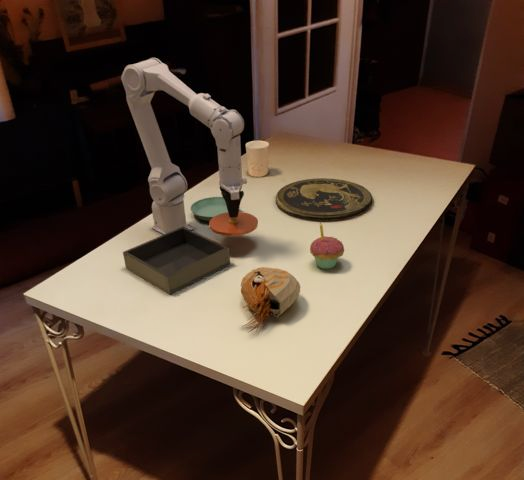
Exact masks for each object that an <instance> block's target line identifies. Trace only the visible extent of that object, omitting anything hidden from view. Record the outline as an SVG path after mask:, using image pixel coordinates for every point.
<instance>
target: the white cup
mask: <svg viewBox="0 0 524 480" xmlns="http://www.w3.org/2000/svg"><path fill="white" fill-rule="evenodd" d="M245 153H246V164H247V171H248V172H247V173H248V175H249V176H251V177H255V178H259V177H260V178H261V177H265V176H267V175H268V173H269V161H270V160H269V158H270V143H269V142H268V141H265V140H252V141H248V142H246V143H245Z"/></svg>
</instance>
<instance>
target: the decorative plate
mask: <svg viewBox="0 0 524 480" xmlns="http://www.w3.org/2000/svg"><path fill="white" fill-rule="evenodd" d="M373 199H374V198H373V195H372V193H371V192H370V191H369V190H368V188H366V187H364V186H362V185H360V184H358V183H356V182H352V181H350V180H345V179H338V178H325V177H324V178H317V177H316V178H307V179H301V180H297V181H294V182H291V183H288V184H286V185H284V186H283V187H281V188H280V189H279V190H278V191H277V193H276V196H275V204H276V206H277V207H278V208H279V209H280V210H281V211H282V212H284V213H285V214H289V215H290V216H293V217H296V218H300V219H303V220H311V221H325V222H326V221H339V220H345V219H352V218H354V217H357V216H360V215H362V214H363V213H366V212H367V211H368V210H369V209H371V207H372V205H373Z"/></svg>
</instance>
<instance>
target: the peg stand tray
mask: <svg viewBox="0 0 524 480" xmlns="http://www.w3.org/2000/svg"><path fill="white" fill-rule="evenodd" d="M122 255H123V259H124V261H123V262H124V267H125V269H126V270H127V271H128V272H129V271H130V272H131V273H133V274H134V275H137V277H139V278H141V279H143V280H145V281H146V282H148V283H150V284H151V285H153V286H154V287H157V289H160V290H162V291H163V292H165V293H167V294H168V295H172V294H174V293H176V292H179V291H181V290H183V289H185V288H187V287H188V286H191V285H192V284H195V283H196V282H199V281H201V280H202V279H204V278H207V277H209V276H210V275H213V274H214V273H216V272H218V271H220V270H223V269H225V268H226V267H228V266H230V265H231V257H230V256H231V255H230V248H229V247H227V246H226V245H224V244H221V243H219V242H217V241H214V240H213V239H211V238H209V237H207V236H204V235H203V234H200V233H198V232H196V231H194V230H189V229H187V228H185V227H181V228H178V229H176V230H174V231H171V232H169V233H167V234H162V235H159V236H158V237H157V236H156V237H155V238H153V239H150V240H149V241H146V242H145V241H144V242H143V243H141V244H139V245H136V246H133V247H131V248H129V249H126V250H125V251H122Z"/></svg>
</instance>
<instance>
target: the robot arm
mask: <svg viewBox="0 0 524 480" xmlns="http://www.w3.org/2000/svg"><path fill="white" fill-rule="evenodd" d="M120 80H121V82H122V86H123V89H124V91H125V97H126V102H127V105H128V108H129V112H130V113H131V117H132V119H133V121H134V125H135V127H136V130H137V133H138V135H139V138H140V141H141V143H142V146H143V149H144V151H145V154H146V157H147V160H148V163H149V165H150V168H151V170H150V173H149V176H148V178H147V182H148V185H149V194H150V197H151V199H152V200H153V201H152V203H151V212H152V219H153V225H154V226H151V227H152V228H151V229H153V230H154V231H157V232H158V233H160V234H162V235H164V234H167V233H169V232H171V231H174V230H176V229H178V228H181V227H185V228H187V229H189V230H192V231H194V227H193V226H191V225H188V224H187V218H186V209H185V201H184V198H185V193H186V192H187V190H188V181H187V179H186V177H185V176H184V175H183V173H182V172H181V169H180V167H179V166H178V165H176V164H174V163H172V161H171V158H170V156H169V152H168V150H167V147H166V143H165V141H164V138H163V136H162V135H163V134H162V132H161V130H160V126H159V123H158V120H157V118H156V115H155V112H154V110H153V107H152V104H151V101H152V99H153V97H154V95H155V93H156V92H157V91H163V92H165V93H166V94H168V95H169V96H171V97H173V98H174V99H176V100H177V101H179V102H180V103H182V104H184V105H185V106H187V107H188V109H189V114H190V115H191V116H192V117H194V118H195V119H196V120H197V121H199V122H201V123H202V124H203V125H205V126H206V127H207V128H208V129H210V133H211V135H212V136H213V138H214V140H215V145H216V147H217V163H218V175H219V180H218V185H219V189H220V193H221V197H223V198H224V200H225V202H226V206H227V210H228V213H229V216H230V218H232V217H238V213H239V212H240V207H241V203H242V199H243V198H244V196H245V192H244V190H242V188H243V185H246V184H248V179H247V178H243V165H242V148H241V147H242V146H241V145H242V144H241V133H242V132H244V129H245V120H244V118H243V117H242V115H241V113H239V112H238V111H237V110H236V109H227V108H226V107H225V106H222V105H220V104H219V103H217V101H215V100H213V99H212V98H211V97H212V96H211V95H210V94H209V93H203V92H200V93H196V92H195V91H193V89H191V88H190V87H189V86H187V84H185V83H184V82H183V81H182V80H181V79H179V78H178V77H177V76H176V75H174V73H172V72H171V71H170V70H169V66H168V64H165V63H163V62H162V61H161V60H160V59H159V58H156V57H150V58H148V59H146V60H142V61H139V62H137V63H133V64H128V65H126V66H125V67H124V70H123V71H122V74H121V77H120Z"/></svg>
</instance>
